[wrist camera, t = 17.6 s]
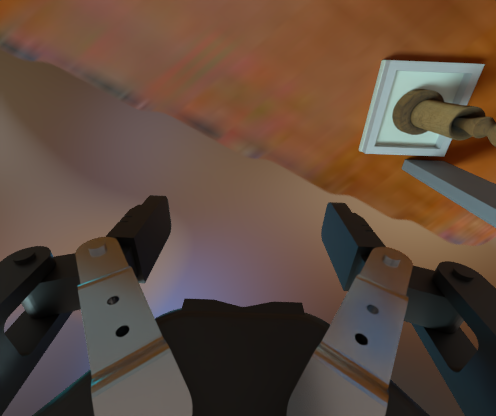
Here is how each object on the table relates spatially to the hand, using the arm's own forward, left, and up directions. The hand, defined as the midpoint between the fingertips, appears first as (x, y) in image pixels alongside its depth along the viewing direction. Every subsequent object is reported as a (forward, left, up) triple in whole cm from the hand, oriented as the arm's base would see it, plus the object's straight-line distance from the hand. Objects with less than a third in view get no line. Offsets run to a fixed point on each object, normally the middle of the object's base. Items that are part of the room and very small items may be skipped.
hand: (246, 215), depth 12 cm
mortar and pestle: (-13, +23, -31) cm, 41 cm away
